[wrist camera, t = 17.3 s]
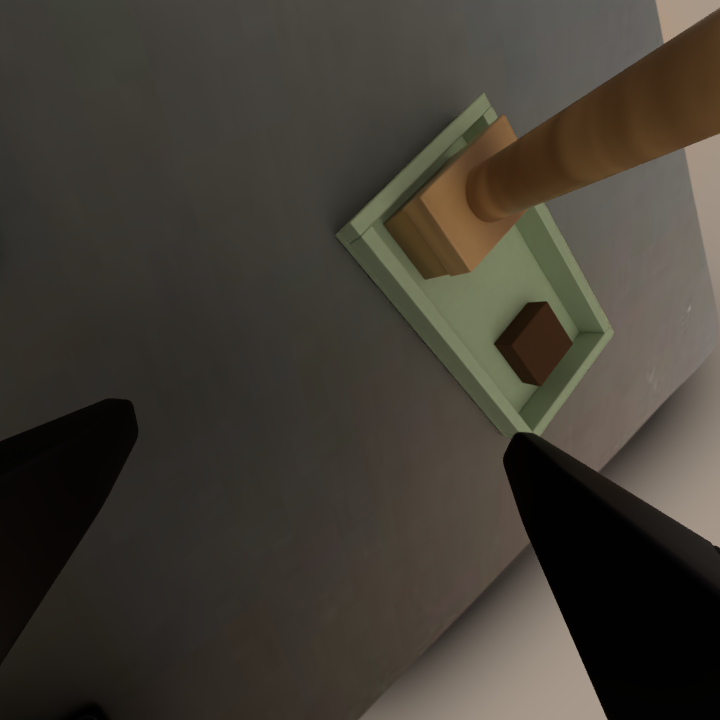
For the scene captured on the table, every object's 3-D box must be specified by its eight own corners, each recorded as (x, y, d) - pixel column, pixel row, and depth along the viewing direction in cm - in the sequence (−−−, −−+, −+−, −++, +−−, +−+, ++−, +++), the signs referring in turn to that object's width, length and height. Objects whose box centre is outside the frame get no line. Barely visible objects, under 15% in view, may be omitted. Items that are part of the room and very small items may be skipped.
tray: (581, 332, 25) (615, 333, 23) (503, 436, 23) (531, 448, 21) (454, 118, 19) (484, 91, 17) (334, 235, 17) (349, 222, 15)
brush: (424, 283, 19) (769, 209, 7) (379, 223, 17) (714, -7, 5) (487, 215, 20) (879, 48, 8) (450, 155, 18) (858, -165, 6)
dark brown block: (553, 342, 23) (574, 343, 22) (522, 383, 22) (541, 387, 21) (527, 301, 22) (547, 300, 20) (493, 344, 21) (511, 345, 20)
